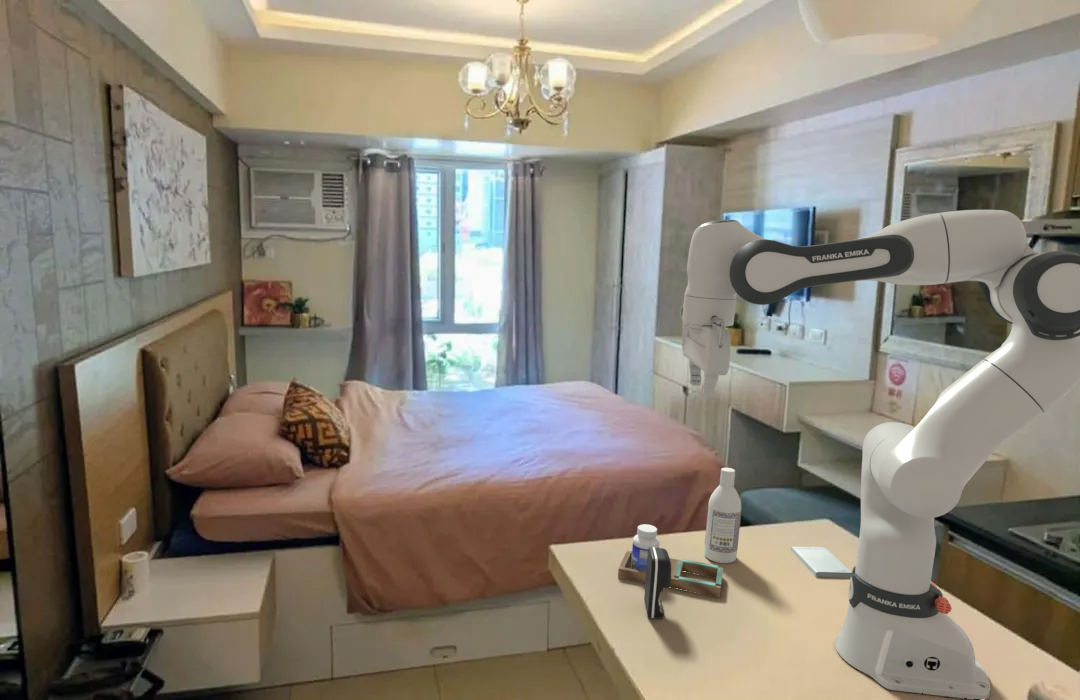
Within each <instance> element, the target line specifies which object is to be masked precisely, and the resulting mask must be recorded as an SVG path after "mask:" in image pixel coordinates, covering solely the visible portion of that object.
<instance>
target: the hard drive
mask: <svg viewBox="0 0 1080 700" xmlns="http://www.w3.org/2000/svg"><path fill="white" fill-rule="evenodd" d="M790 551H791V552H792V554H793V555H795V557H796V558H797V559H798V560H799V561H800V562H801V564H802V565H804V566H805V567H806V568H807V570H808V571H809V572H810V573H811V574H812V575H813V576H814V577H816V578H819V577H820V578H851V576H852V570H850V569H849V568H848V567H847V566H846V565H844V563H843V562H842V561H840V560H839V558H837V557H836V555H834V554H833V553H832V552H831V551H830V550H829V549H828V548H826V547H824V546H791V547H790Z"/></svg>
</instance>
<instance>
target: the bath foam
mask: <svg viewBox="0 0 1080 700" xmlns="http://www.w3.org/2000/svg"><path fill="white" fill-rule="evenodd" d="M735 477H736V470H735V469H734V468H731V467H722V468H721V470H720V477H719V485H718V486H717V487H716V488H715V489H714V490H713V492H712V493H711V495H710V498H709V500H708V504H707V505H708V506H707V516H706V528H705V538H704V550H703V552H704V556H705V557H706V558H707V559H708V560H710V561H711V562H715V563H720V564H731V563H733V562H735V561H736V559H737V555H738V548H739V539H740V538H739V536H740V527H741V516H742V501H741V498H740V495H739V494H738V491H737V490H736V488H735V479H736V478H735Z"/></svg>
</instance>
